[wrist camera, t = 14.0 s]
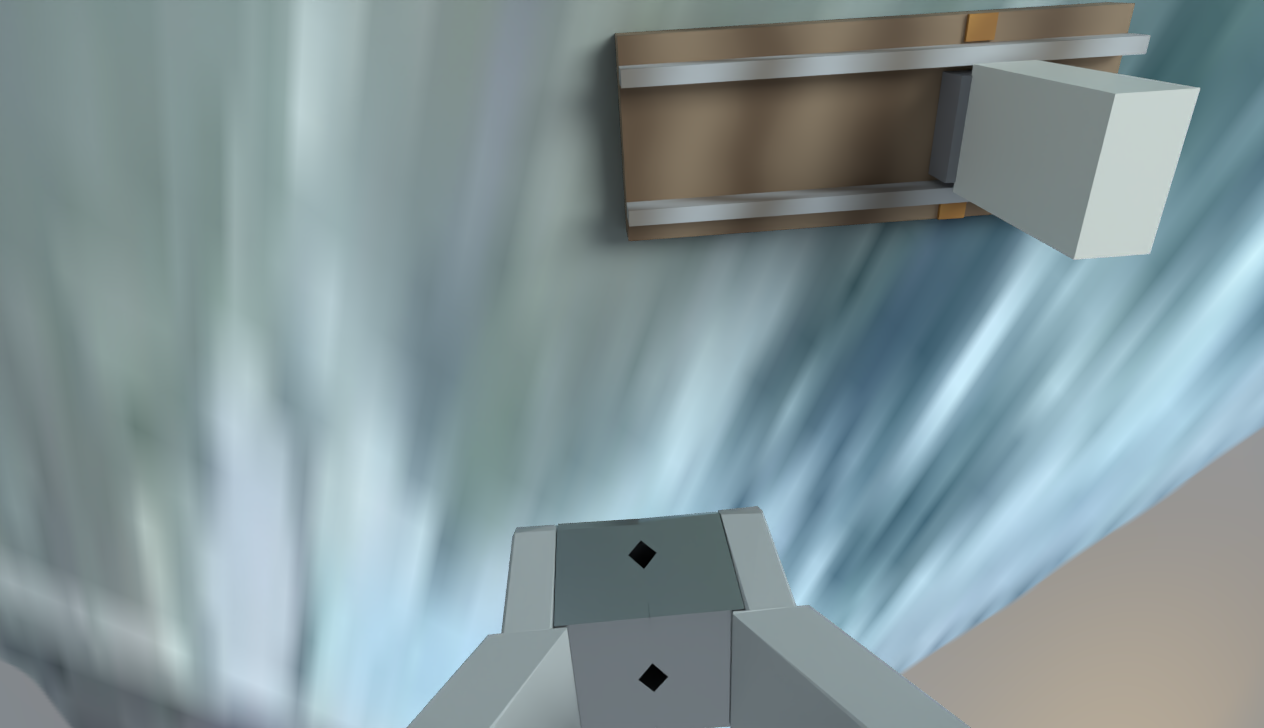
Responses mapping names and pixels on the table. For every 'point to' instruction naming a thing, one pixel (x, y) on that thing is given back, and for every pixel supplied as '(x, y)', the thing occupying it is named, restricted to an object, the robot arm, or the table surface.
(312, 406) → the table surface
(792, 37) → the fader track
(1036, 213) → the fader tab
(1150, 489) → the table surface
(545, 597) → the robot arm
